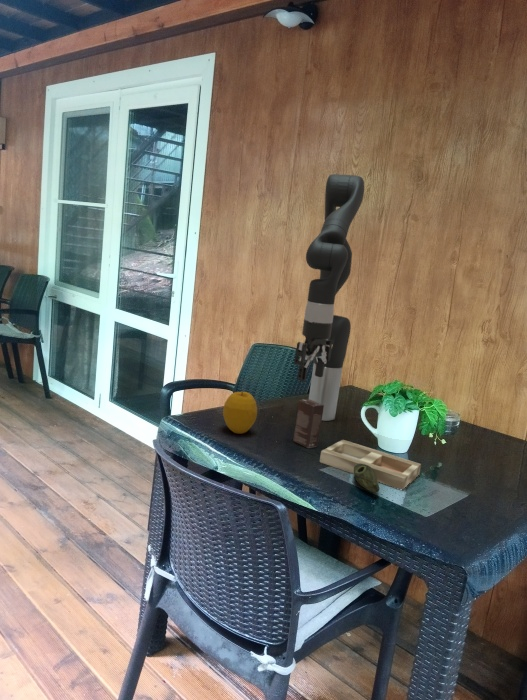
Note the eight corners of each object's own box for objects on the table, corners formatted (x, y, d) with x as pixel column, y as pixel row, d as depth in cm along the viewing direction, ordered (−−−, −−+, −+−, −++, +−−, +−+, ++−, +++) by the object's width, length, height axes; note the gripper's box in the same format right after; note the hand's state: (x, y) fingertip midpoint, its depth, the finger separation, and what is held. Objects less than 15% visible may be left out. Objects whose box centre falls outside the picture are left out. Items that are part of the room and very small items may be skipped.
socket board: (340, 449, 157) (342, 439, 156) (419, 475, 146) (421, 464, 145) (319, 462, 146) (321, 451, 145) (402, 490, 135) (404, 478, 134)
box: (318, 446, 157) (325, 404, 155) (306, 448, 154) (313, 406, 152) (303, 439, 162) (309, 398, 160) (292, 441, 159) (297, 399, 157)
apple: (231, 423, 168) (236, 384, 165) (260, 431, 164) (265, 392, 161) (214, 431, 159) (219, 390, 157) (244, 440, 155) (250, 398, 153)
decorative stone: (337, 480, 136) (340, 460, 135) (357, 475, 141) (360, 455, 140) (373, 499, 128) (377, 479, 127) (394, 493, 133) (397, 473, 132)
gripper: (320, 315, 159) (312, 372, 162) (291, 318, 147) (283, 378, 150) (344, 320, 154) (335, 378, 157) (315, 323, 143) (307, 385, 146)
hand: (310, 378), depth 154 cm, fingers open, 8 cm apart
